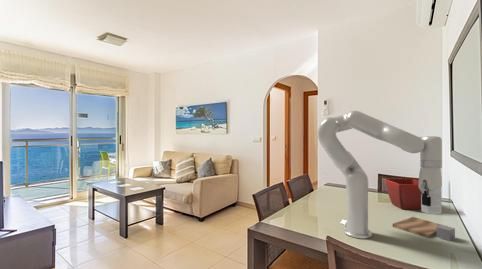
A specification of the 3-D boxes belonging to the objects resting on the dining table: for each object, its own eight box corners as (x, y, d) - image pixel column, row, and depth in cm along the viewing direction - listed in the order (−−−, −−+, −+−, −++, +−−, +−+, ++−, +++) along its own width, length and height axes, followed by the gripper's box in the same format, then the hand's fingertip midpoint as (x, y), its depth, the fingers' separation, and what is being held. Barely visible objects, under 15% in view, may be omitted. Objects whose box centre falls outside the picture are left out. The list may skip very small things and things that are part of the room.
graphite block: (436, 237, 112) (436, 226, 112) (441, 235, 115) (441, 224, 115) (449, 241, 108) (449, 230, 108) (454, 239, 110) (454, 228, 110)
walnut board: (392, 226, 125) (392, 223, 125) (412, 219, 135) (412, 216, 135) (428, 238, 111) (428, 234, 111) (447, 229, 121) (447, 226, 121)
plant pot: (413, 202, 166) (413, 178, 166) (432, 211, 147) (432, 184, 147) (384, 202, 168) (384, 178, 168) (399, 211, 149) (399, 184, 149)
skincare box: (434, 210, 108) (434, 184, 108) (441, 214, 104) (441, 186, 104) (420, 211, 108) (420, 184, 108) (428, 214, 104) (427, 186, 104)
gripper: (431, 161, 113) (431, 199, 113) (410, 164, 105) (410, 204, 106) (451, 163, 107) (451, 203, 107) (430, 166, 99) (430, 209, 99)
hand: (431, 203), depth 106 cm, fingers closed on skincare box, 7 cm apart
